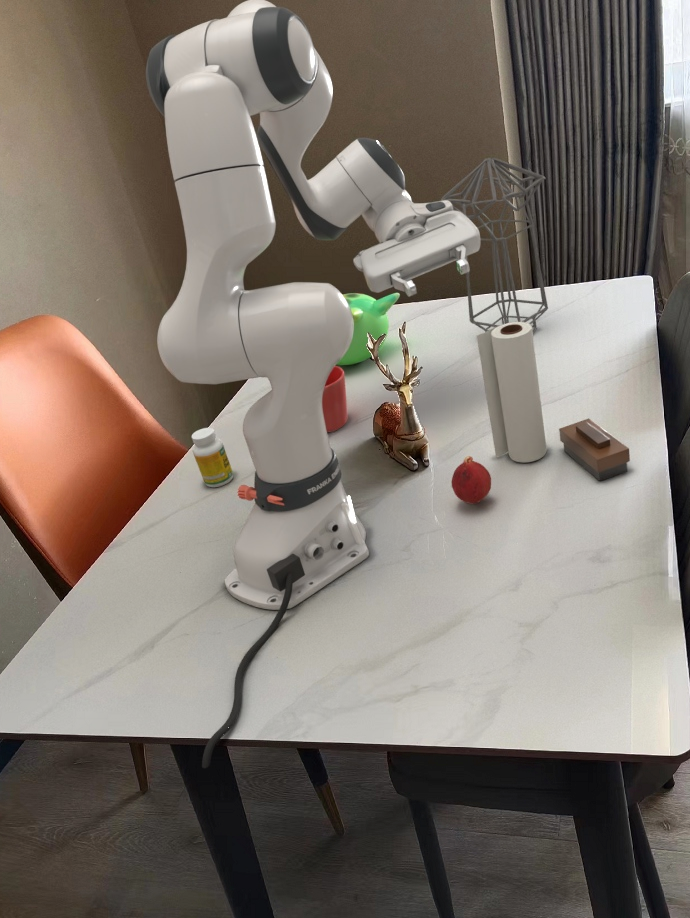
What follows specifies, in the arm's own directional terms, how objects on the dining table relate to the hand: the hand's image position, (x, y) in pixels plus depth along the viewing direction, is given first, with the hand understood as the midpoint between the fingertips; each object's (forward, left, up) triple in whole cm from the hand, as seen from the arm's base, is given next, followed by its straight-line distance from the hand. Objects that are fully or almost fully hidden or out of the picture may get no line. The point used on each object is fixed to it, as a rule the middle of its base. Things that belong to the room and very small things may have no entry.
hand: (439, 280), depth 138 cm
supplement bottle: (-32, +31, -26) cm, 51 cm away
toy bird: (+17, +39, -26) cm, 50 cm away
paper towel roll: (-7, -17, -26) cm, 31 cm away
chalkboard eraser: (-6, -28, -25) cm, 38 cm away
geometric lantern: (+35, +11, -26) cm, 45 cm away
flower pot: (-9, +25, -26) cm, 37 cm away
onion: (-22, -17, -26) cm, 38 cm away
